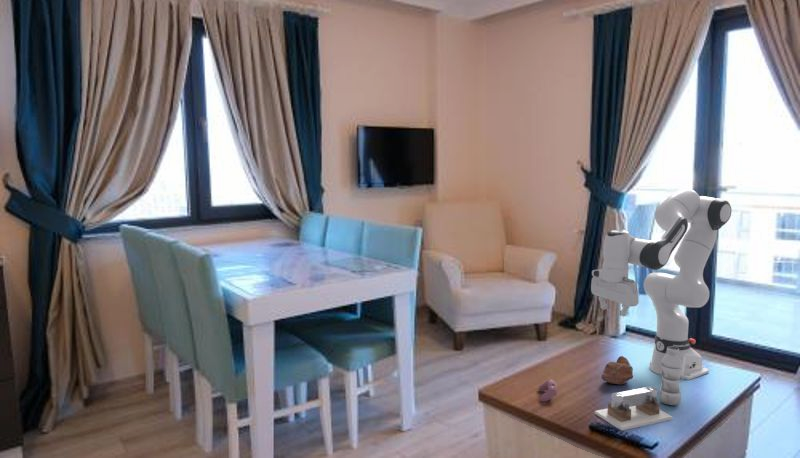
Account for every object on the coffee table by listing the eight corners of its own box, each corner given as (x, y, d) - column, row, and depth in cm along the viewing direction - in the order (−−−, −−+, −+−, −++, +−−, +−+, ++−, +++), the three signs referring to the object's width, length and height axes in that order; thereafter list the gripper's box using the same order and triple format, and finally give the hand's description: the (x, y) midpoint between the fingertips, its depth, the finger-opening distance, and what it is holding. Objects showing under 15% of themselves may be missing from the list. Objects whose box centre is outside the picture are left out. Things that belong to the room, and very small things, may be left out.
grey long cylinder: (650, 397, 179) (650, 385, 178) (658, 401, 175) (659, 390, 175) (608, 405, 173) (609, 393, 172) (616, 410, 169) (617, 398, 169)
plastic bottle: (679, 409, 179) (683, 352, 177) (657, 404, 183) (661, 349, 180) (681, 402, 185) (685, 347, 182) (659, 397, 188) (663, 343, 186)
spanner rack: (643, 403, 184) (644, 385, 183) (672, 419, 173) (673, 400, 172) (594, 413, 176) (595, 395, 176) (621, 430, 165) (622, 410, 164)
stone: (621, 376, 207) (622, 352, 206) (640, 384, 200) (642, 359, 198) (599, 383, 201) (600, 358, 199) (618, 391, 193) (620, 365, 192)
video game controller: (550, 407, 185) (560, 390, 183) (538, 400, 185) (548, 384, 184) (548, 395, 194) (558, 379, 193) (537, 388, 195) (546, 373, 193)
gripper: (644, 280, 182) (641, 319, 184) (602, 269, 201) (600, 304, 203) (629, 281, 180) (627, 321, 181) (588, 270, 199) (587, 306, 200)
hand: (613, 312), depth 192 cm, fingers open, 8 cm apart
